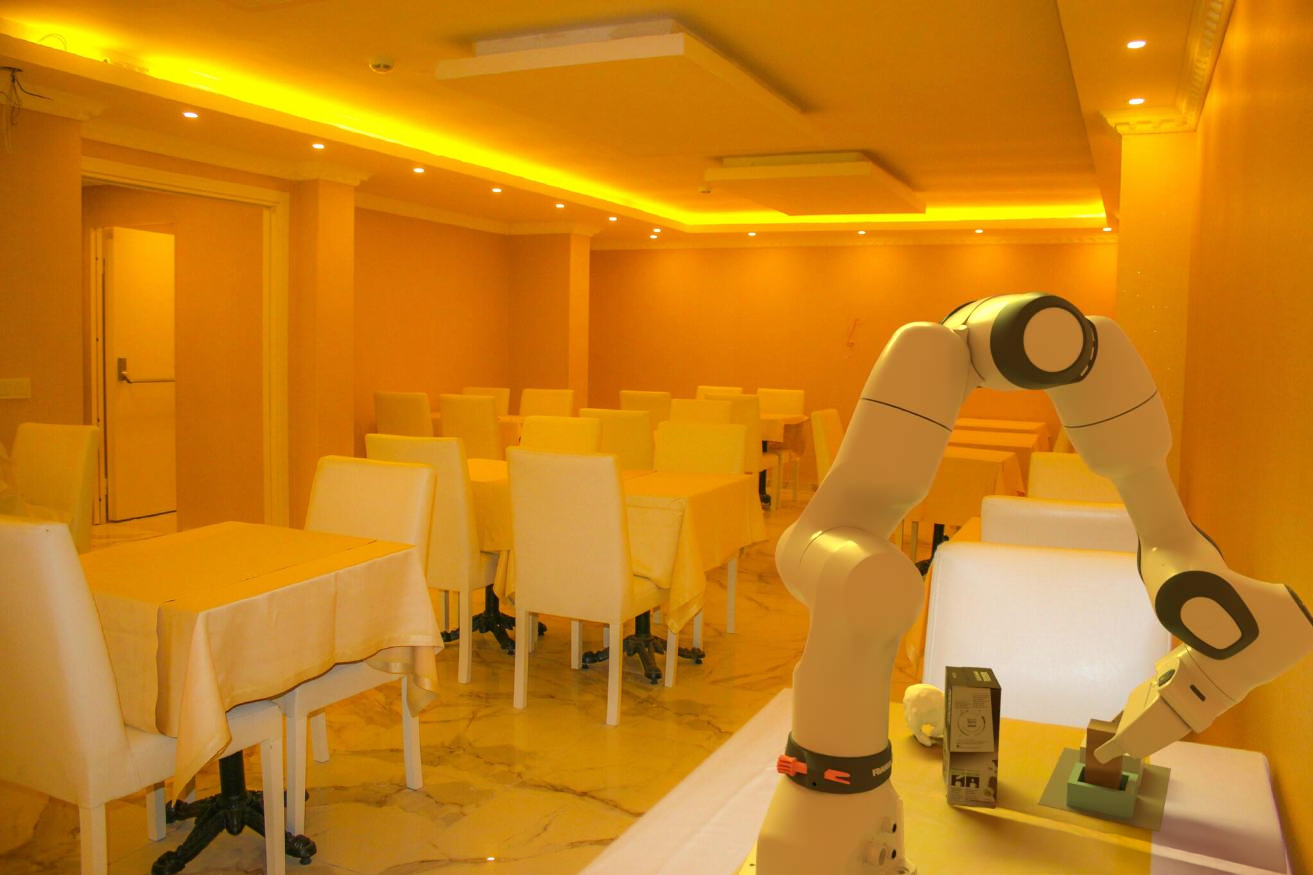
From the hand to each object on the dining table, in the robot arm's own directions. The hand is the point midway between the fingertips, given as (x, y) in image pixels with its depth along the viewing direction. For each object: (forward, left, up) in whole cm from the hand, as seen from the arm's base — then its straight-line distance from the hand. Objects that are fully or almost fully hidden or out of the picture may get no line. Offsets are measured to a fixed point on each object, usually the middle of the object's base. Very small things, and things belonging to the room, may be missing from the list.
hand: (1102, 744), depth 127 cm
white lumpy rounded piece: (+12, +24, -9) cm, 28 cm away
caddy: (+5, 0, -8) cm, 10 cm away
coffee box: (-5, +16, -9) cm, 18 cm away
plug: (0, 0, -7) cm, 7 cm away
